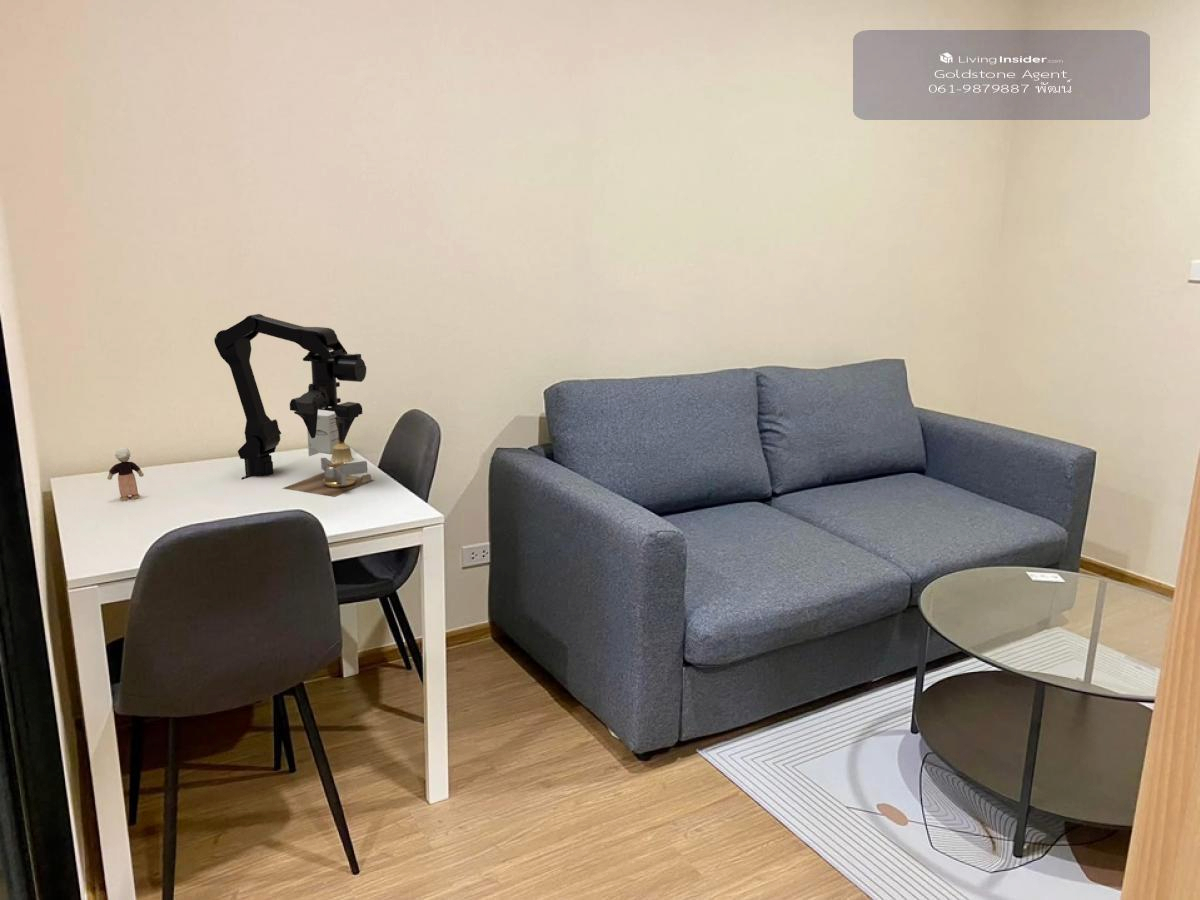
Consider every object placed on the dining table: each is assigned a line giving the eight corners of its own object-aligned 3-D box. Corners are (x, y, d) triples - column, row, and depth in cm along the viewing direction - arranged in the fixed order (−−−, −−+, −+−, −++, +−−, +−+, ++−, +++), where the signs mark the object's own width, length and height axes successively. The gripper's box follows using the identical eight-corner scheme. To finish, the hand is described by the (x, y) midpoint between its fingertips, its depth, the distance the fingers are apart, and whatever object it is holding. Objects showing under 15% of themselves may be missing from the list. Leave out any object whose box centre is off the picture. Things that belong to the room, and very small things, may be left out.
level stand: (282, 494, 230) (281, 482, 229) (324, 477, 244) (323, 466, 243) (335, 502, 224) (334, 490, 223) (375, 485, 238) (374, 474, 237)
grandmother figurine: (141, 493, 228) (136, 443, 224) (147, 497, 225) (141, 446, 222) (108, 499, 222) (101, 448, 219) (113, 503, 220) (107, 452, 217)
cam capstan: (334, 493, 225) (333, 473, 223) (314, 476, 238) (313, 457, 237) (378, 487, 230) (377, 467, 229) (356, 471, 244) (355, 452, 243)
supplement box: (307, 456, 264) (305, 413, 260) (322, 450, 271) (319, 408, 267) (330, 459, 262) (328, 415, 259) (344, 452, 269) (342, 410, 266)
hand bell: (333, 460, 260) (330, 405, 256) (362, 462, 260) (359, 406, 256) (322, 468, 252) (318, 411, 248) (351, 470, 252) (349, 412, 248)
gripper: (271, 380, 227) (276, 442, 231) (332, 388, 220) (335, 451, 224) (303, 374, 237) (307, 433, 241) (362, 380, 230) (365, 441, 233)
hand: (327, 440), depth 234 cm, fingers open, 9 cm apart
